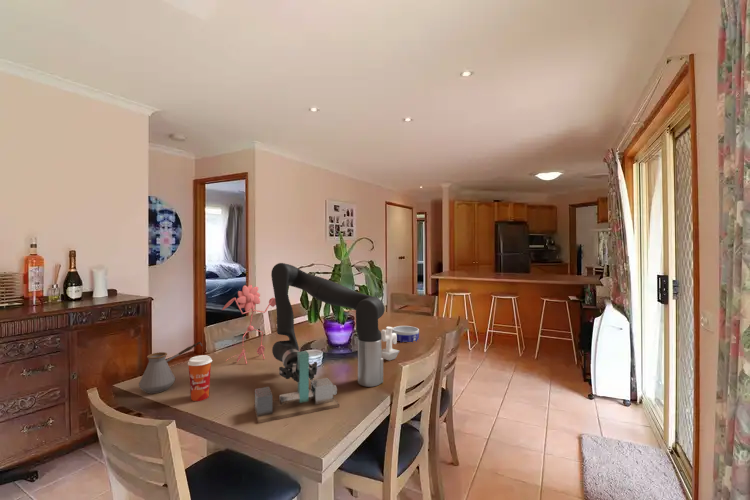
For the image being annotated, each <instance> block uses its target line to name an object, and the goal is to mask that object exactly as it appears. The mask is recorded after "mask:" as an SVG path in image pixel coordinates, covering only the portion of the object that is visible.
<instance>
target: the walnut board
mask: <svg viewBox="0 0 750 500" xmlns="http://www.w3.org/2000/svg"><path fill="white" fill-rule="evenodd" d="M253 407H254V408H253V409H254V413H255V416H256V420H257V424H261V423H265V422H267V423H268V422H270V421H276V420H280V419H285V418H286V419H287V418H289V417H296V416H299V415H305V414H310V413H315V412H321V411H324V410H330V409H335V408H340V403H339V402H338V400H337V398H336V397H335V395H333V402H328V403H322V404H317V405H315V398H314V399H309V401H307V402H302V403H299V401H298V402H292V403H287V404H282V405H280V400H279V399H278V400H272V414H270V415H265V416H260V417H257V413H256V409H255V404H254V405H253Z"/></svg>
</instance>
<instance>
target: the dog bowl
mask: <svg viewBox="0 0 750 500" xmlns="http://www.w3.org/2000/svg"><path fill="white" fill-rule="evenodd" d="M392 333H396V335H397V341H400V342H399V343H402V342H412V343H414V342H413V341H416V342H418V341H419V340H420V329H419V328H418V327H415V326H410V325H398V326H394V327H393V326H392ZM418 339H419V340H418ZM417 340H418V341H417Z"/></svg>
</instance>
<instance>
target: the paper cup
mask: <svg viewBox="0 0 750 500" xmlns="http://www.w3.org/2000/svg"><path fill="white" fill-rule="evenodd" d="M212 362H213V359H212V357H211V356H209V355H206V354H204V355H202V354H201V355H195V356H193V357H190V358H189V360H188V362H187V366H188V377H189V389H190V390H189V391H190V400H191V402H192V401H193V402H201V401H205V400H207V399H208V398H210V397H209V396H210V385H211V383H210V382H211V367H212Z"/></svg>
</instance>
